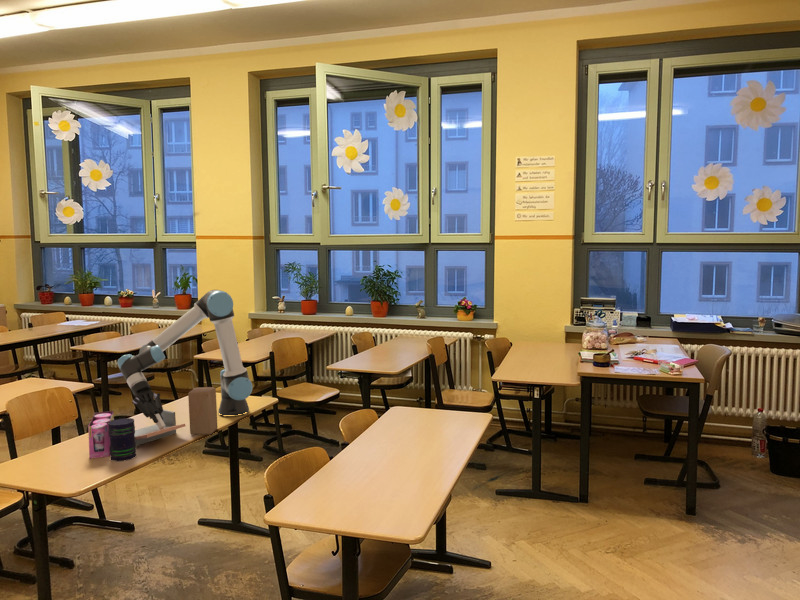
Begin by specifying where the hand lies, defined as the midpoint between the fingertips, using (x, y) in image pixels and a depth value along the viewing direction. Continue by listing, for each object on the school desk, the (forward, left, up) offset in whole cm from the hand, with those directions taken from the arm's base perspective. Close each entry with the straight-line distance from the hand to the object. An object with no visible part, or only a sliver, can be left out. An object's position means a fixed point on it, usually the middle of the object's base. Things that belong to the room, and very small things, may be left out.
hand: (162, 427), depth 269 cm
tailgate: (-1, -7, -3) cm, 7 cm away
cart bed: (-1, -12, -7) cm, 13 cm away
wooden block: (-20, +2, -7) cm, 21 cm away
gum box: (+19, -15, -7) cm, 25 cm away
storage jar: (+20, +2, -7) cm, 21 cm away
